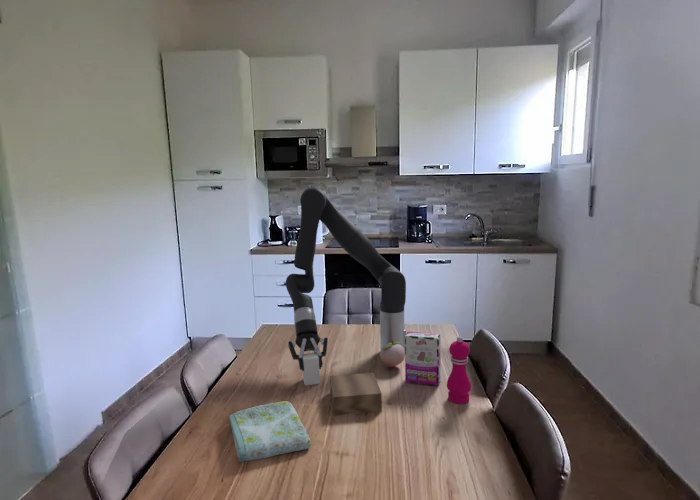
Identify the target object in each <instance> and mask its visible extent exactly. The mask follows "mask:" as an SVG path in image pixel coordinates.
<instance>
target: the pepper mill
mask: <svg viewBox="0 0 700 500" xmlns="http://www.w3.org/2000/svg"><path fill="white" fill-rule="evenodd" d="M448 350H449V353H450V355H451V356H450V362H451V363H452V368H451V372H450V373H449V375H448V378H447V381H446V387H447V390H448V393H447V395H448V396H447V397H448V400H449V401H450V402H452V403H453V404H459V405H461V404H463V405H464V404H467V403H468V402H469V401H470V391H471V390H472V382H471V380H470V377H469V374H468V373H467V364H468V363H469V357H468V356H469V355H470V353H471V349H470V345H469V344H468V343H467V342H465V341H464V339H463V337H462V336H458V337H456V340H455V341H452V342H451V343H450V345H449V349H448Z"/></svg>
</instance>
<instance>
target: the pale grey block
mask: <svg viewBox="0 0 700 500" xmlns="http://www.w3.org/2000/svg"><path fill="white" fill-rule="evenodd" d="M302 358H303V363H304V371H302V381H303V384H304V386H312V385H320V384H321V383H320V382H321V378H320V375H321V374H320V369H319V357H318V355H317V353H314V352H309V353H308V352H307V353H304V354H303V356H302Z"/></svg>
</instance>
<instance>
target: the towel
mask: <svg viewBox="0 0 700 500" xmlns="http://www.w3.org/2000/svg"><path fill="white" fill-rule="evenodd" d="M228 418H229V423H230V427H231V432H232V433H231V434H232V437H233V442H234V445H235V446H234V447H235V451H236V454H237V455H236V456H237V459H238V462H240V463H244V462H248V461H254V460H261V459H267V458H271V457H275V456H278V455H282V454H289V453H293V452H299V451H305V450H308V449H309V448H311V444H312V443H311V439H310V436H309V434H308V433H307V429H306V427H305V426H304V424H303V422H302V421H301V419H300V415H298V412H297V410H296V409H295V408H294V406H293V404H292V403H291V402H290V401H287V400H286V401H284V400H283V401H277V402H271V403H266V404H262V405H256V406H252V407H248V408H245V409H242V410H237V411H235V412H234V413H232V414H230V415H229V416H228Z"/></svg>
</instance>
